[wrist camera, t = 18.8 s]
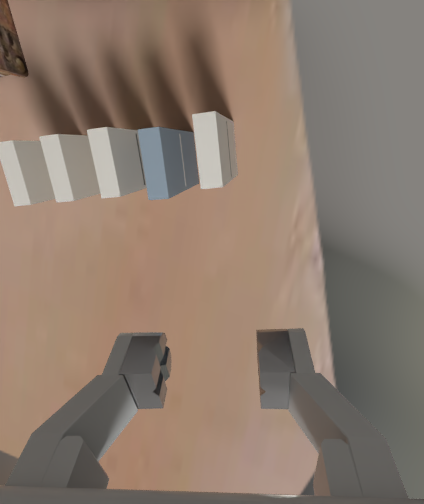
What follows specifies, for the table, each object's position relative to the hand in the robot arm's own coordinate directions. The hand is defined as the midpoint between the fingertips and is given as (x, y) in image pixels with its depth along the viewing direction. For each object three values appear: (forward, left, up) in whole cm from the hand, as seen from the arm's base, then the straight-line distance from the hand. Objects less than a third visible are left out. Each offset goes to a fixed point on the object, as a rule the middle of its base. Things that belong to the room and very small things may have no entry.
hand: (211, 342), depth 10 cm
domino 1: (-14, -13, -23) cm, 30 cm away
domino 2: (-12, -10, -23) cm, 28 cm away
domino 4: (-8, -3, -23) cm, 25 cm away
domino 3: (-10, -6, -23) cm, 26 cm away
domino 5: (-6, +1, -23) cm, 24 cm away
